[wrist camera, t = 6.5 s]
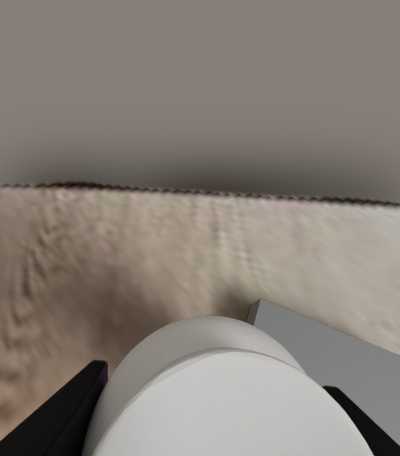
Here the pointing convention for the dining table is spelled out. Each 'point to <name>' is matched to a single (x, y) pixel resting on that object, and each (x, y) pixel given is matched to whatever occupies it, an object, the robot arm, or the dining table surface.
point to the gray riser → (338, 361)
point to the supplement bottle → (216, 399)
